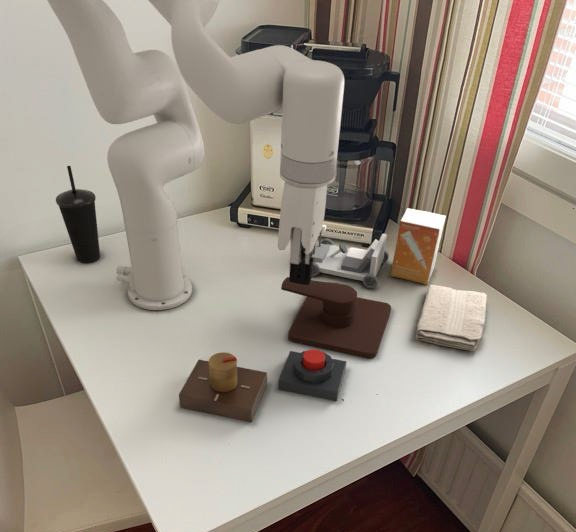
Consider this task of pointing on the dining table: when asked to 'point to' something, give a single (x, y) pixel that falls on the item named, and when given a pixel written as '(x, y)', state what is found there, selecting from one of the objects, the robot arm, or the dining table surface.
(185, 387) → the dimmer panel
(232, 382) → the dimmer knob
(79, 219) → the drinking cup
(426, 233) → the small box
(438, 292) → the washcloth
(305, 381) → the switch block
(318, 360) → the power button
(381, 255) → the toy car
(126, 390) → the dining table surface
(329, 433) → the dining table surface
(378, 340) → the lever handle
